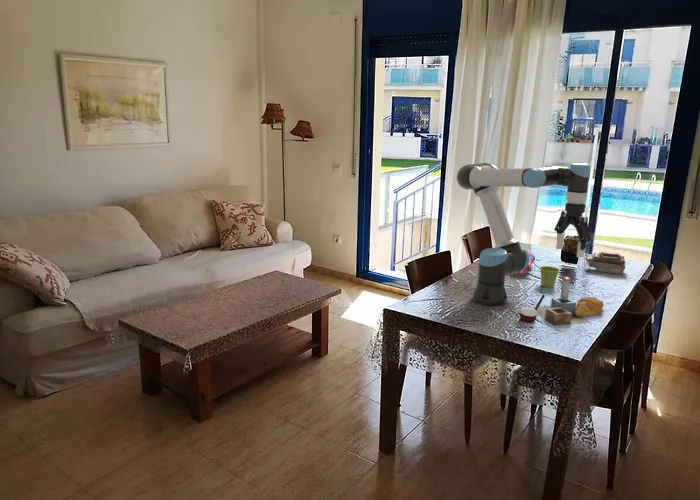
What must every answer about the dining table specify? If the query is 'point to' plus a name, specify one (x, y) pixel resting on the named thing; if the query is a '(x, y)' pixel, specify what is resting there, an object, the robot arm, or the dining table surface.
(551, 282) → the plant pot
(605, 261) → the olive toy tank
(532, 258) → the pencil case
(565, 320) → the mount
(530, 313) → the cocoa
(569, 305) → the socket
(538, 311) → the board
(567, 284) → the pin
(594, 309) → the croissant
